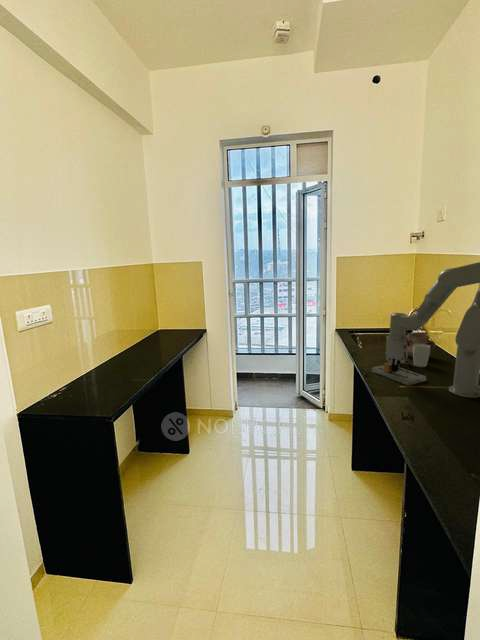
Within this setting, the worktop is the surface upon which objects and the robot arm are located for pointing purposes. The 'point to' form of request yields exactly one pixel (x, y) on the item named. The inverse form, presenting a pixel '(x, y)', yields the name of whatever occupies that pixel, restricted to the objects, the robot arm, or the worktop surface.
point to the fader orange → (387, 367)
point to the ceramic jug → (418, 341)
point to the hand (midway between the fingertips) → (394, 371)
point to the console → (400, 375)
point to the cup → (421, 354)
